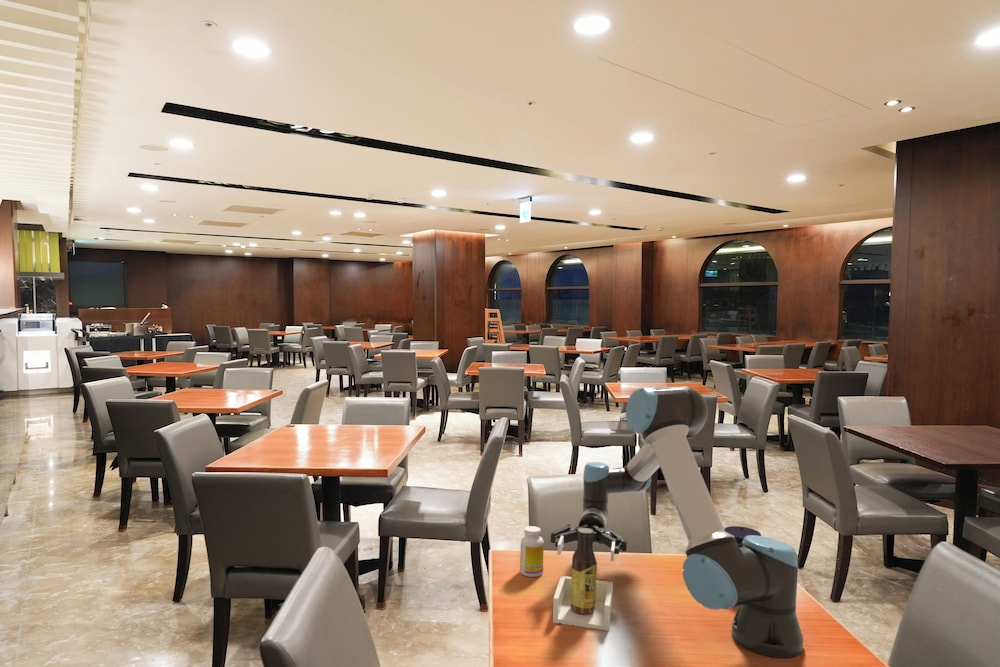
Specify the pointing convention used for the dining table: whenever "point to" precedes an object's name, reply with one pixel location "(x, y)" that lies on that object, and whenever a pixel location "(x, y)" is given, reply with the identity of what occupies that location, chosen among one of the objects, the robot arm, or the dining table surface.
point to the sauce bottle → (584, 574)
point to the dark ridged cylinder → (741, 533)
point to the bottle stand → (592, 620)
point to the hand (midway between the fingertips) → (585, 552)
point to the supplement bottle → (531, 552)
